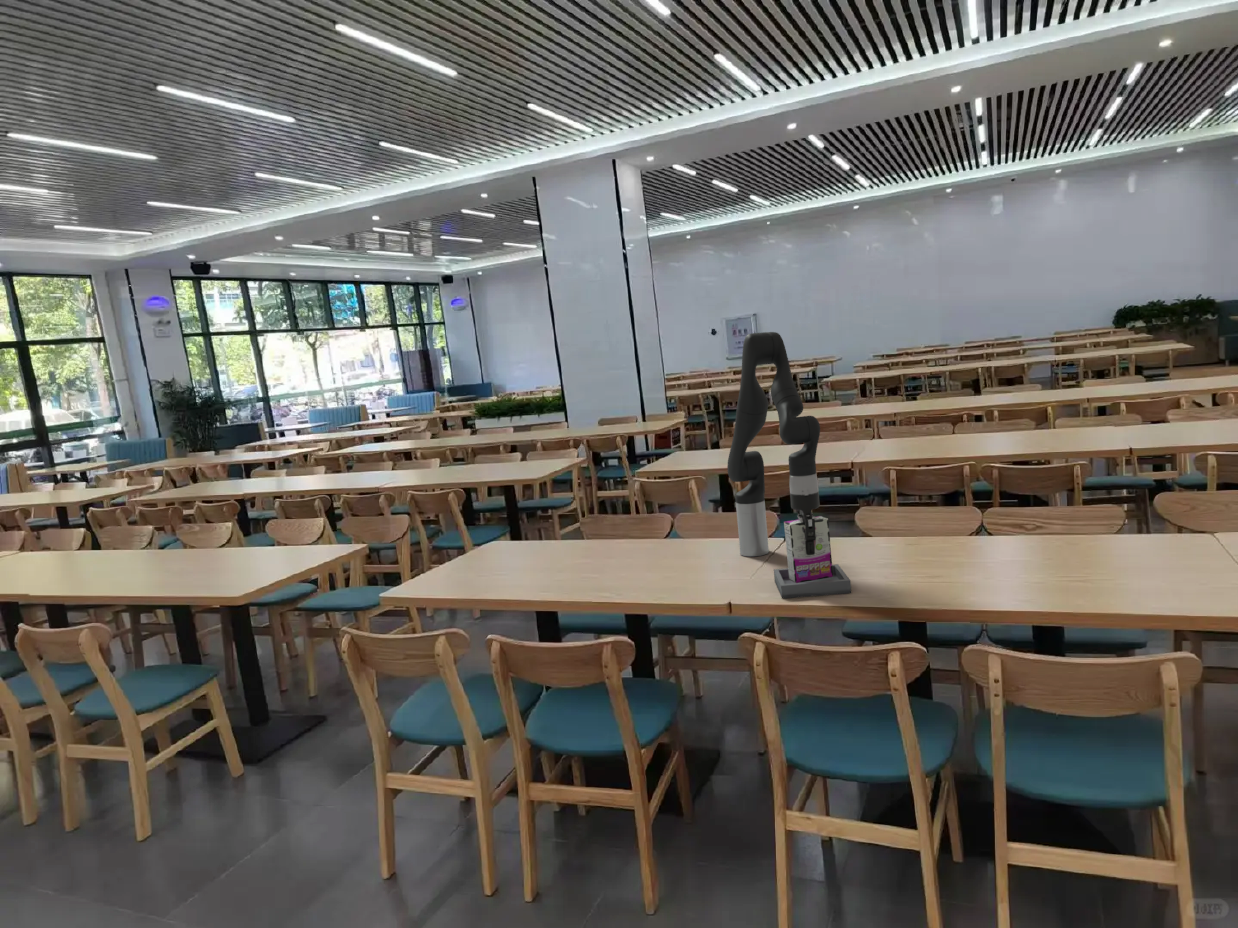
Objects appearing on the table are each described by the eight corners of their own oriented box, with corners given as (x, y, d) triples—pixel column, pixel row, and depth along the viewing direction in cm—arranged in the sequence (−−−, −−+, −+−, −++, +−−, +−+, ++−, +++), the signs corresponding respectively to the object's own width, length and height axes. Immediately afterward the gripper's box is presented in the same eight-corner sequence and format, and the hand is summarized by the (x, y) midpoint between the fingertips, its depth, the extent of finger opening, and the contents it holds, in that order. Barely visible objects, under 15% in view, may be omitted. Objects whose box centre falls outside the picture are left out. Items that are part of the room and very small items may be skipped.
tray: (774, 581, 226) (773, 569, 226) (839, 576, 225) (838, 564, 224) (781, 598, 210) (780, 585, 210) (851, 593, 209) (850, 580, 208)
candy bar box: (825, 573, 221) (821, 515, 219) (833, 577, 216) (829, 518, 214) (787, 579, 219) (783, 520, 217) (795, 583, 214) (790, 524, 212)
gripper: (786, 487, 221) (790, 546, 224) (793, 496, 207) (798, 559, 210) (813, 485, 221) (818, 544, 223) (823, 494, 207) (827, 557, 209)
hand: (808, 551), depth 216 cm, fingers closed on candy bar box, 5 cm apart
